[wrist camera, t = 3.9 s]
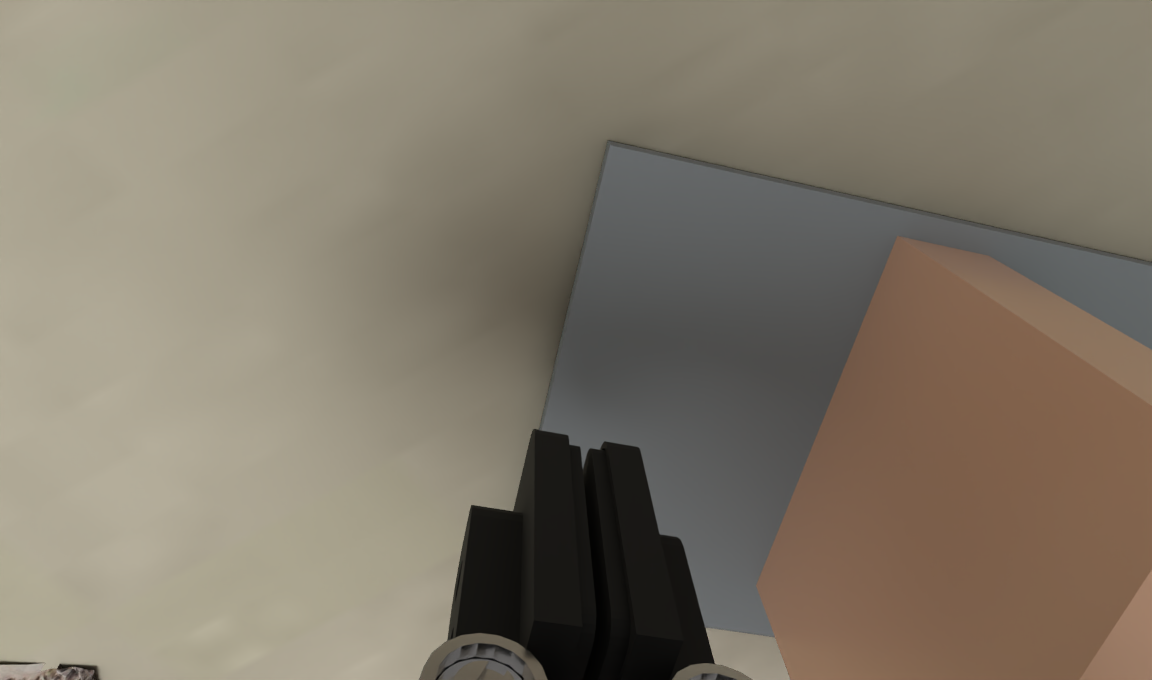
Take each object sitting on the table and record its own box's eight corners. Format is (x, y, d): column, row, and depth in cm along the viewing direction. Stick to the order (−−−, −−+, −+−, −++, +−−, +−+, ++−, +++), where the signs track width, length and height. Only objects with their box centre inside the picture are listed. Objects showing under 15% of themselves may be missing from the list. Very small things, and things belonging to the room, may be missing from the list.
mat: (1431, 325, 17) (1454, 334, 17) (1174, 680, 22) (1188, 695, 21) (607, 140, 15) (610, 144, 14) (502, 583, 19) (501, 598, 19)
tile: (990, 256, 16) (1391, 487, 8) (834, 597, 19) (1018, 971, 12) (897, 235, 15) (1227, 455, 8) (755, 585, 19) (895, 960, 11)
